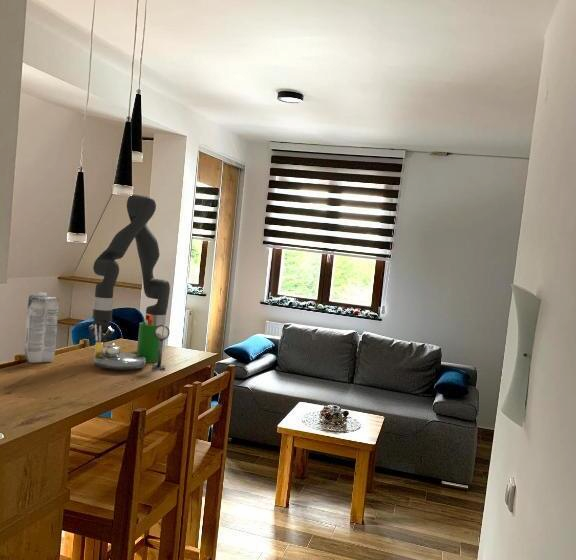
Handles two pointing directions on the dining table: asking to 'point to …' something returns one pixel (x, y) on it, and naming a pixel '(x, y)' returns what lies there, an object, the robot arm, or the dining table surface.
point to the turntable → (117, 359)
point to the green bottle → (148, 340)
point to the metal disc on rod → (160, 344)
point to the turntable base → (118, 369)
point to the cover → (111, 350)
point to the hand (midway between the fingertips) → (99, 350)
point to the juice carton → (41, 328)
